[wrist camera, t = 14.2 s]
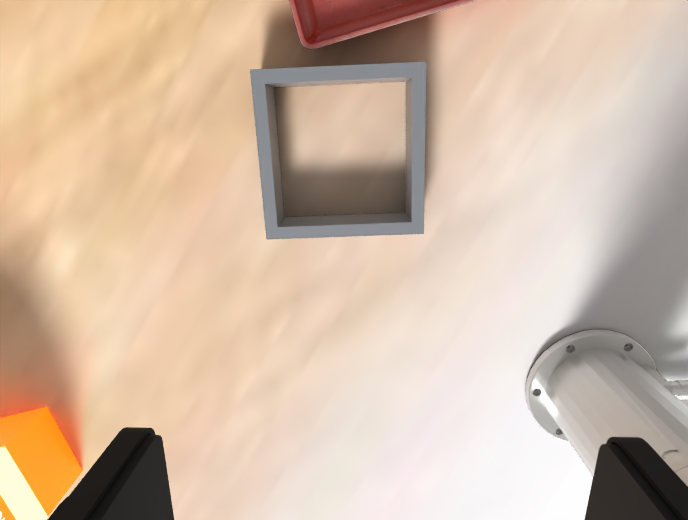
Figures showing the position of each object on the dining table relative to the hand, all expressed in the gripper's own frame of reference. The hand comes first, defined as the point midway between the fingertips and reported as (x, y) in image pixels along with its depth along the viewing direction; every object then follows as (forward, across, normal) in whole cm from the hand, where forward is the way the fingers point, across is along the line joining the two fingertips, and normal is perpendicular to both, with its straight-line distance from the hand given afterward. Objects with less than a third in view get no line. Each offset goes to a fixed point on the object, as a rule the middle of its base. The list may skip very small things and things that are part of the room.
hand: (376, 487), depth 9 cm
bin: (+32, +2, -5) cm, 32 cm away
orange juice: (+32, +36, +26) cm, 54 cm away
